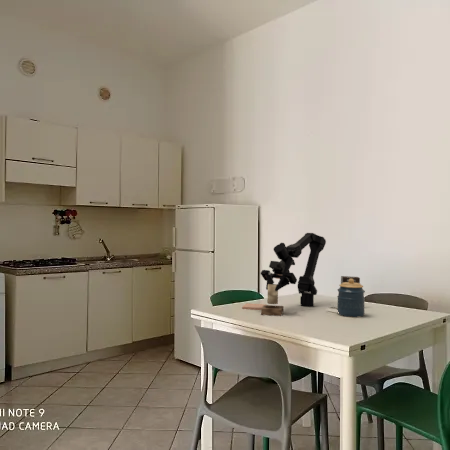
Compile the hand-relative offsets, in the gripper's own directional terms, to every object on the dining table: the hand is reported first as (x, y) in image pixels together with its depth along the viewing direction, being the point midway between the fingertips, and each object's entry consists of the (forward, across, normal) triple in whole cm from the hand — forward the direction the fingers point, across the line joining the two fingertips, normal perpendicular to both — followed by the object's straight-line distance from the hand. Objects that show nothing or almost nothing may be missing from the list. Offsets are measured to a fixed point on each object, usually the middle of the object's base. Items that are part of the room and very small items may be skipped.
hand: (271, 289), depth 213 cm
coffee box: (-25, +18, +42) cm, 52 cm away
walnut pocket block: (+7, 0, +9) cm, 12 cm away
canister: (-11, +28, +28) cm, 41 cm away
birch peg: (+4, 0, +6) cm, 7 cm away
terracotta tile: (+3, -15, +13) cm, 20 cm away
